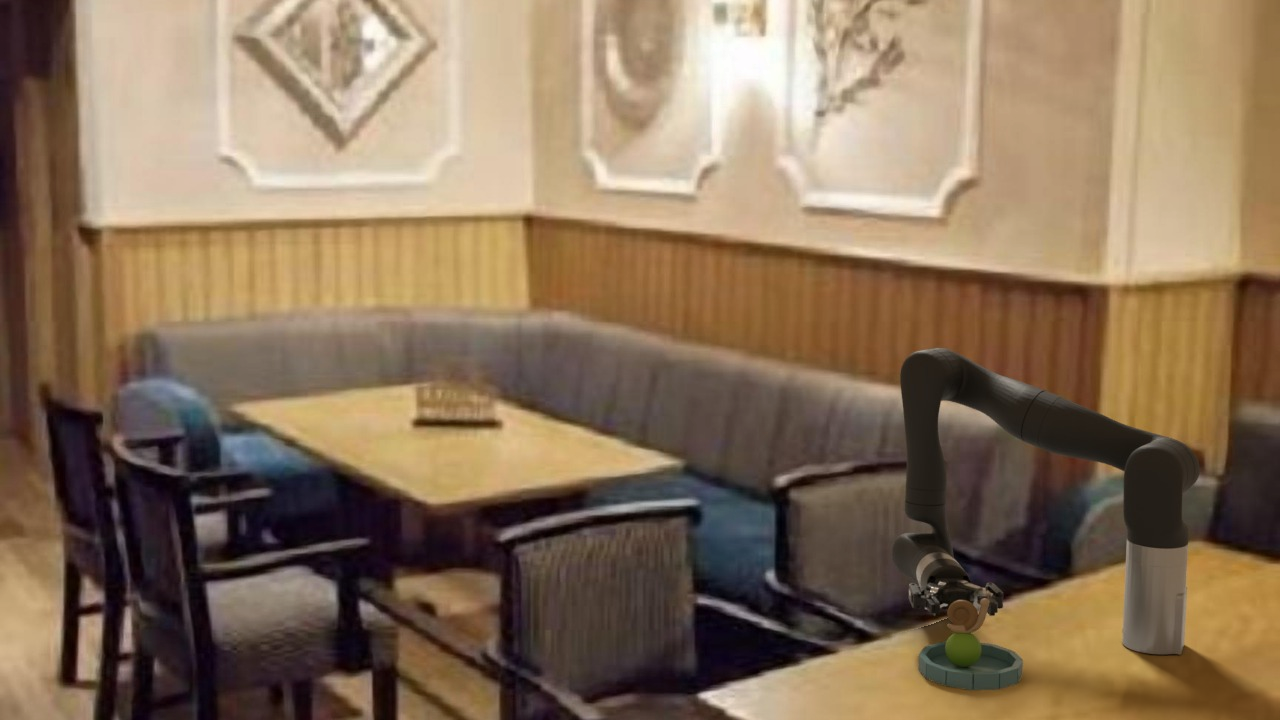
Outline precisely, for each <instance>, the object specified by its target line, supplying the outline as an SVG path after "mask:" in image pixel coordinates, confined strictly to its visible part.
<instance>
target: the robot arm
mask: <svg viewBox="0 0 1280 720" xmlns="http://www.w3.org/2000/svg"><path fill="white" fill-rule="evenodd" d="M899 378H900V379H899V380H900V394H901V401H902V409H903V411H902V412H903V418H904V419H903V422H904V431H905V432H904V433H905V448H906V477H905V495H904V514H905V515H906V517H907V518H909V519H910V520H912V521H917V522H920V523H925V524H927V525H929V526H930V527H931V530H932V532H929V533H927V532H924V533H923V532H905V533H901V534H900V535H898V536H897V537H896V538H895V539H894V541H893V543H892V545H891V551H890V552H891V559H892V562H893V564H894V567H895V569H897V572H899V573H900V574H902V575H903V576H904V577H908V578H910V579H911V580H914V581H917V583H918V584H917V583H915V582H911V583H909V584H908V600H909V603H910V604H911V608H912V609H914V610H920V609H921V608H922V607H924V610H927V611H928V612H929V613H930V614H933V616H934V617H940V614H941V610H946V611H948V608H949V606H950V605H951V604H952V603H953V602H955V601H957V600H966V601H969V602H971V603H972V604H973V605H974V606H975V607H976V609H977V610H978V609H980V607H981V605H980V601H981V599H983V598H987V599H988V600H989V601H990V603H989V606H988V609H987V614H988V616H991V617H993V616H995V615H996V614H997V613H998V611H999V609H1003V608H1004V592H1003V591H1002V590H1001V589H1000V587H998V586H997V585H996V584H995V583H994V582H987V583H986V585H985V587H982V586H979V585H977V584H975V583H972V580H971V578H970V576H969V574H968V572H966V571H965V569H964V568H963V567H962V566H961V564H960V563H959V562H958V561H957V560H956V559H955V557H954V556H955V555H954V551H953V550H954V549H953V545H952V541H951V537H950V532H949V529H948V527H949V526H948V523H947V513H946V506H947V505H946V504H947V503H946V502H947V501H946V500H947V489H948V488H947V486H948V485H947V484H948V483H947V482H948V481H947V480H948V479H947V478H948V477H947V476H948V474H947V466H946V462H945V456H944V454H943V450H942V446H941V441H940V435H939V414H940V408H941V404H942V403H941V402H942V401H947V402H951V403H955V404H958V405H962V406H964V407H968V408H971V409H972V410H975V411H978V412H980V413H983V414H984V415H985V416H987V417H989V418H990V419H991V420H993V422H995V423H996V424H997V425H998V426H999V427H1000V428H1002V429H1003V430H1004V431H1005V432H1007V433H1008V434H1010V435H1011V436H1012V437H1014V438H1016V439H1018V440H1020V441H1022V442H1024V443H1027V444H1029V445H1031V446H1034V447H1036V448H1038V449H1041V450H1043V451H1047V452H1049V453H1052V454H1055V455H1058V456H1063V457H1068V458H1072V459H1073V458H1074V459H1079V460H1086V461H1091V462H1096V463H1101V464H1105V465H1108V466H1111V467H1113V468H1115V469H1118V470H1121V471H1123V498H1122V499H1123V507H1122V508H1123V521H1124V524H1125V526H1126V547H1125V548H1126V551H1125V552H1126V553H1125V570H1124V571H1125V574H1124V594H1123V614H1122V615H1123V616H1122V618H1123V619H1122V621H1123V622H1122V645H1123V646H1124V647H1125V648H1128V649H1130V650H1132V651H1135V652H1139V653H1144V654H1151V655H1182V653H1183V649H1184V645H1185V638H1186V637H1185V636H1186V618H1187V617H1186V616H1187V600H1188V599H1187V598H1188V587H1187V577H1188V576H1187V571H1188V556H1189V553H1188V552H1189V551H1188V550H1189V533H1190V531H1189V530H1190V529H1189V526H1188V525H1187V524H1186V523H1185V522H1184V521H1183V493H1185V492H1187V491H1189V490H1190V489H1191V488H1192V487H1193V486H1194V485H1195V484H1196V482H1198V479H1199V476H1200V472H1201V468H1200V462H1199V459H1198V457H1197V455H1196V454H1195V452H1194V451H1193V450H1192V449H1191V448H1190V447H1189V446H1188V445H1186V444H1185V443H1183V442H1182V441H1181V440H1180V441H1179V440H1178V439H1175V438H1172V437H1169V436H1164V435H1161V434H1157V433H1154V432H1152V431H1151V432H1150V431H1146V430H1143V429H1139V428H1137V427H1135V426H1134V427H1133V426H1130V425H1127V424H1124V423H1122V422H1119V421H1118V420H1115V419H1113V418H1111V417H1108V416H1107V415H1104V414H1102V413H1099V412H1097V411H1095V410H1093V409H1090V408H1088V407H1086V406H1083V405H1080V404H1078V403H1076V402H1073V401H1072V400H1069V399H1067V398H1065V397H1062V396H1060V395H1057V394H1056V393H1052V392H1050V391H1047V390H1046V389H1043V388H1040V387H1037V386H1035V385H1031V384H1028V383H1026V382H1023V381H1021V380H1017V379H1015V378H1012V377H1007V376H1004V375H1002V374H999V373H996V372H994V371H993V370H990V369H988V368H986V367H984V366H982V365H980V364H978V363H976V362H975V361H972V360H971V359H969V358H967V357H966V356H964V355H961V354H959V352H956V351H953V350H951V349H949V348H944V347H943V348H942V347H935V348H929V349H923V350H917V351H914V352H913V353H911V354H909V355H908V356H907V357H906V358H905V360H904V361H903V362H902V365H901V367H900V374H899ZM986 591H989V592H990V595H989V596H988V595H986Z"/></svg>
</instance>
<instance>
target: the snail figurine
mask: <svg viewBox="0 0 1280 720" xmlns="http://www.w3.org/2000/svg"><path fill="white" fill-rule="evenodd" d="M986 595H988V596H989V595H990V592H989V591H986ZM971 602H972V601H971ZM971 602H969V601H966V600H957V601H955V602H953V603H952V604H951V605H950V606H949V608H948V610H946V611H947V613H946V614H947V618H948V620H949V621H950V622H951V623H947V625H946V627H948V629H949V630H951V631H952V632H953V633H952V634H951V635H950V636H949V637H948V638H947V640H946V641H947V642H946V645H945V652H946V655H947V658H948V659H949V660H950V662H951V663H953V664H954V665H956V666H959V667H970V666H972V665H974V664H975V663H976V662H977V661H978V660H979V658H980V656H981V652H982V648H981V644H980V639H979V638H978V637H977V636H976V635H975V634H974V632H976V631H978V630H980V629H981V627H982V626H983V624H984V622H985V620H986V616H987V614H988V613H987V609H988V606H989V603H990V601H989V600H988V599H987V598H985V597H982V599H981V601H980V605H981V607H980V608H979V611H978V609H976V607H975V606H974V605H973V604H972V603H971Z"/></svg>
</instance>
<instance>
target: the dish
mask: <svg viewBox="0 0 1280 720" xmlns="http://www.w3.org/2000/svg"><path fill="white" fill-rule="evenodd" d="M946 642H947V640H946V641H940V642H937V643H933V644H929V645H926V646H924V647H923V648H922V650H921V651H920V652H919V653H918V671H919V672H920V674H921V675H922V676H923V675H924V676H923V677H924V678H925V679H926V678H927V680H928V679H930V680H929V681H931V680H932V682H933V681H934V683H936V682H937V683H936V684H939V685H941V684H943V685H942V686H944V685H946V686H945V687H947V686H950V687H949V688H954V687H957V688H956V689H961V688H964V690H969V691H984V690H985V691H987V690H989V691H990V690H1001V689H1005V688H1008V687H1011V686H1014V685H1017V684H1018V683H1019V681H1020V680H1021V679H1022V676H1023V673H1024V672H1023V670H1024V669H1023V667H1024V659H1023V658H1022V657H1021V656H1020V655H1019V654H1018V653H1016V651H1014V650H1012V649H1008V648H1006V647H1003V646H1002V645H1001V646H1000V645H998V644H995V643H989V642H980V644H981V648H982V652H981V656H980V658H979V660H978V661H977V662H976V663H975V664H974V665H972V666H970V667H959V666H956V665H954V664H953V663H951V662H950V660H949V659H948V658H947V655H946V652H945V645H946Z"/></svg>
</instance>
